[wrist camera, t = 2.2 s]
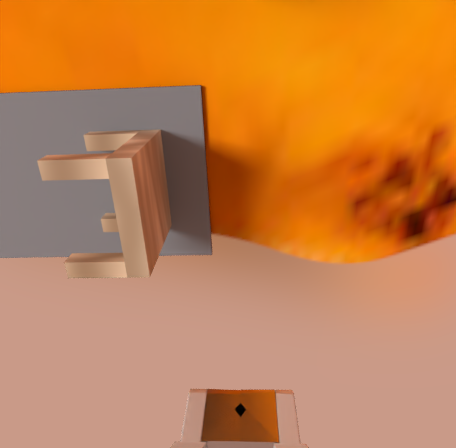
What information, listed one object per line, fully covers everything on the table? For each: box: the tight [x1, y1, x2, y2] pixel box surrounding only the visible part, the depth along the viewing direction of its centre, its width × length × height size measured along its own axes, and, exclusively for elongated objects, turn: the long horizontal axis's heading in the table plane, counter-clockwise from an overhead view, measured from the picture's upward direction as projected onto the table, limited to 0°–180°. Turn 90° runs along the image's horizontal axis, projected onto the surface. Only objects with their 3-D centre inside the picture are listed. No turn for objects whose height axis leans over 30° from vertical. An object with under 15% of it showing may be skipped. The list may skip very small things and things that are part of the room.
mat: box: [0, 85, 212, 258], centre depth 31 cm, size 20×14×1 cm
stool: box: [37, 129, 172, 278], centre depth 27 cm, size 6×8×8 cm
